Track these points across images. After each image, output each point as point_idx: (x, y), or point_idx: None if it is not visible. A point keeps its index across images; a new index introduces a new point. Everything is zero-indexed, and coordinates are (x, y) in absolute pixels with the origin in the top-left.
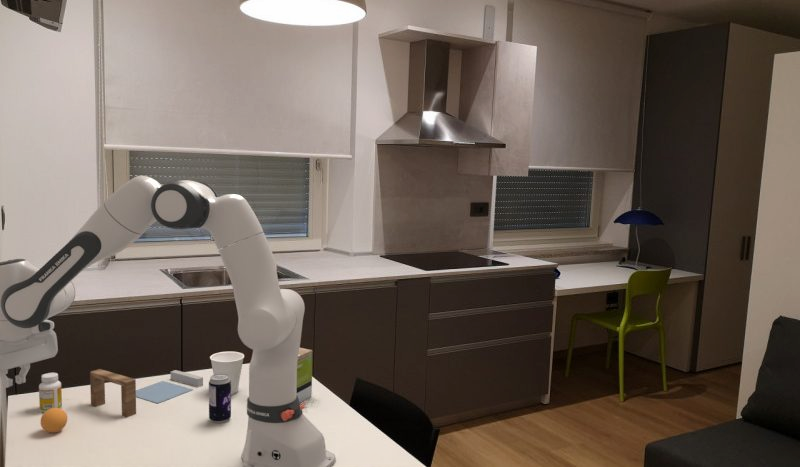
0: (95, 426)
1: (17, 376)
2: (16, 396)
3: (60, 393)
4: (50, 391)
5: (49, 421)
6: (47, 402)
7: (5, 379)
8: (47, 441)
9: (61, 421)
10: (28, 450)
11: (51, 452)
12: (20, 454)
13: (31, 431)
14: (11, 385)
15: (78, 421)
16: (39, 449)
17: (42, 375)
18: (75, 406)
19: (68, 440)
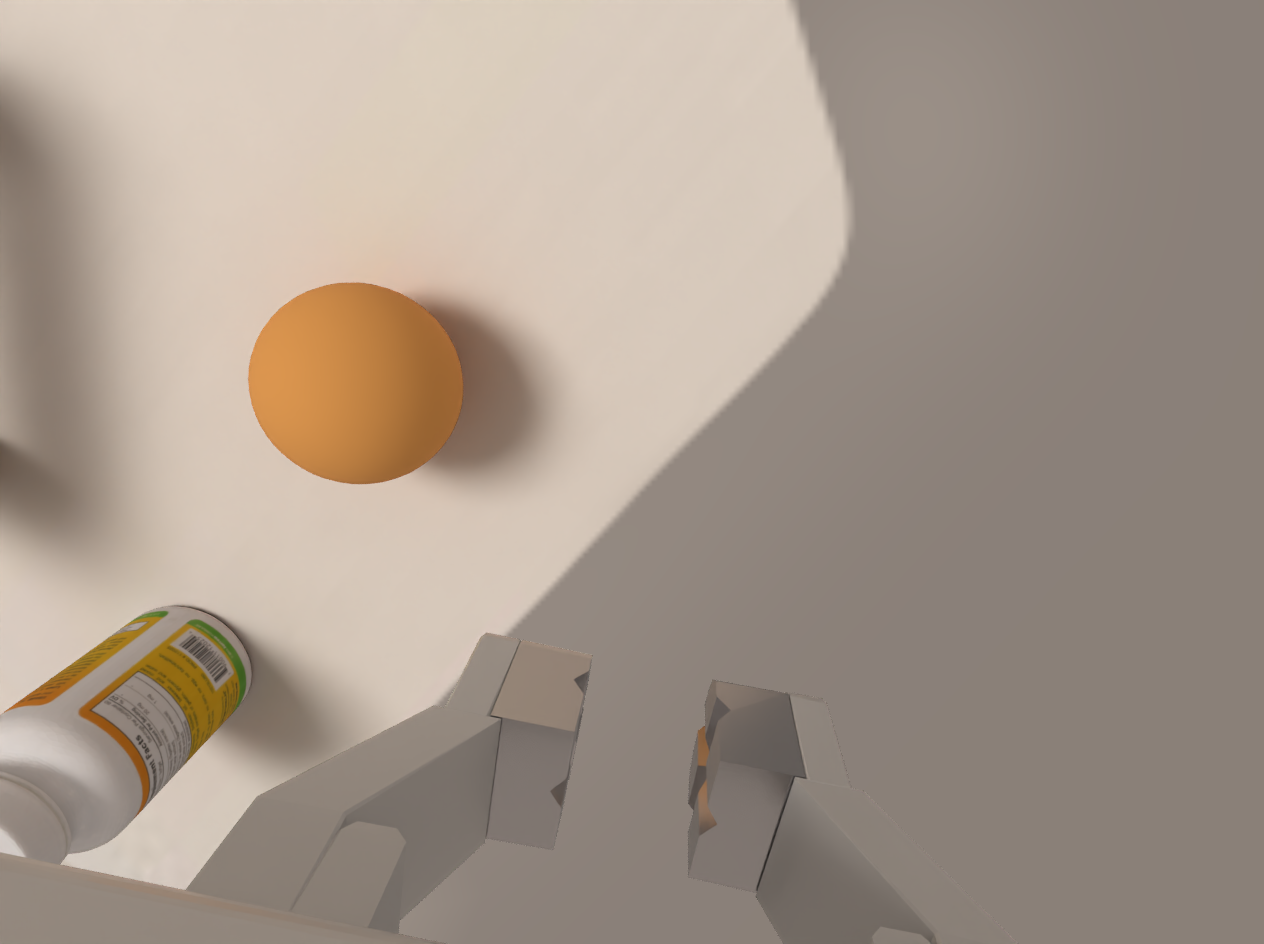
0: (180, 148)
1: (554, 799)
2: None
3: (61, 674)
4: (107, 716)
5: (429, 345)
6: (189, 677)
7: (885, 821)
8: (535, 274)
9: (359, 285)
10: (700, 277)
11: (661, 75)
12: (770, 275)
13: (474, 507)
14: (743, 685)
15: (202, 347)
16: (657, 214)
17: None
18: (72, 560)
19: (452, 135)
